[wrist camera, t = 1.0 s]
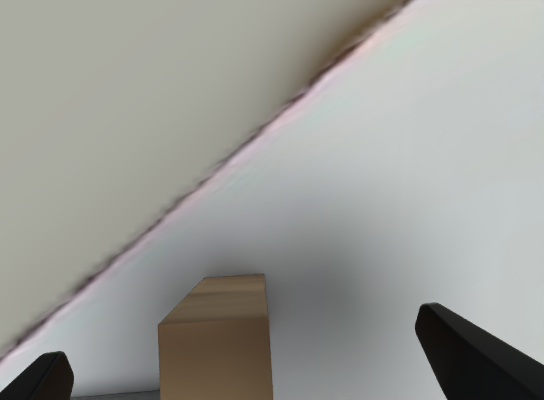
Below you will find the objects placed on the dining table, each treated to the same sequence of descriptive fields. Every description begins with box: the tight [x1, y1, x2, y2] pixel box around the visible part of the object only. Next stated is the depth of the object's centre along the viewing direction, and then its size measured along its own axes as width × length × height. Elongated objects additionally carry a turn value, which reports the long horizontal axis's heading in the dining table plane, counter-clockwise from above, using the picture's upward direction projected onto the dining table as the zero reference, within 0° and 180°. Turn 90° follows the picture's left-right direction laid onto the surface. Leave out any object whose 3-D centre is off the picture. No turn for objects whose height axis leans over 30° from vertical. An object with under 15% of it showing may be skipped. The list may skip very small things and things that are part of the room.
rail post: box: [158, 274, 273, 400], centre depth 17 cm, size 4×4×10 cm
